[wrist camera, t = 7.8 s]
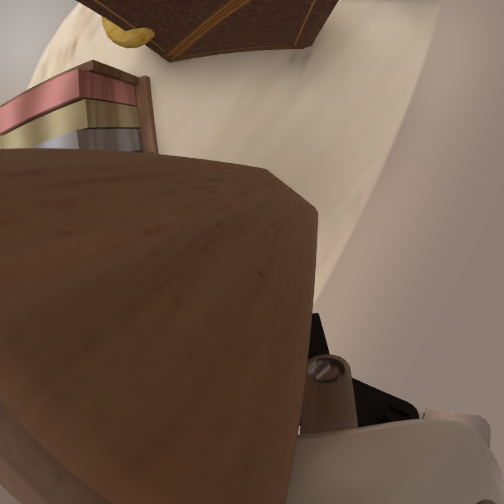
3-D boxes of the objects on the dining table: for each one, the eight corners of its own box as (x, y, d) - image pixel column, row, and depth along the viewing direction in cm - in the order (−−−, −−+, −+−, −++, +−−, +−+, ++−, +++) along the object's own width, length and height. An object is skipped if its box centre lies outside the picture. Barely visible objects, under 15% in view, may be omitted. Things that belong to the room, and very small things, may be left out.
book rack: (149, 77, 33) (85, 50, 18) (175, 252, 42) (133, 316, 27) (56, 108, 34) (-22, 109, 19) (85, 261, 43) (25, 314, 28)
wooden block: (234, 314, 21) (73, 553, 4) (184, 273, 21) (-40, 446, 4) (320, 211, 18) (294, 589, 1) (262, 165, 18) (-109, 144, 1)
